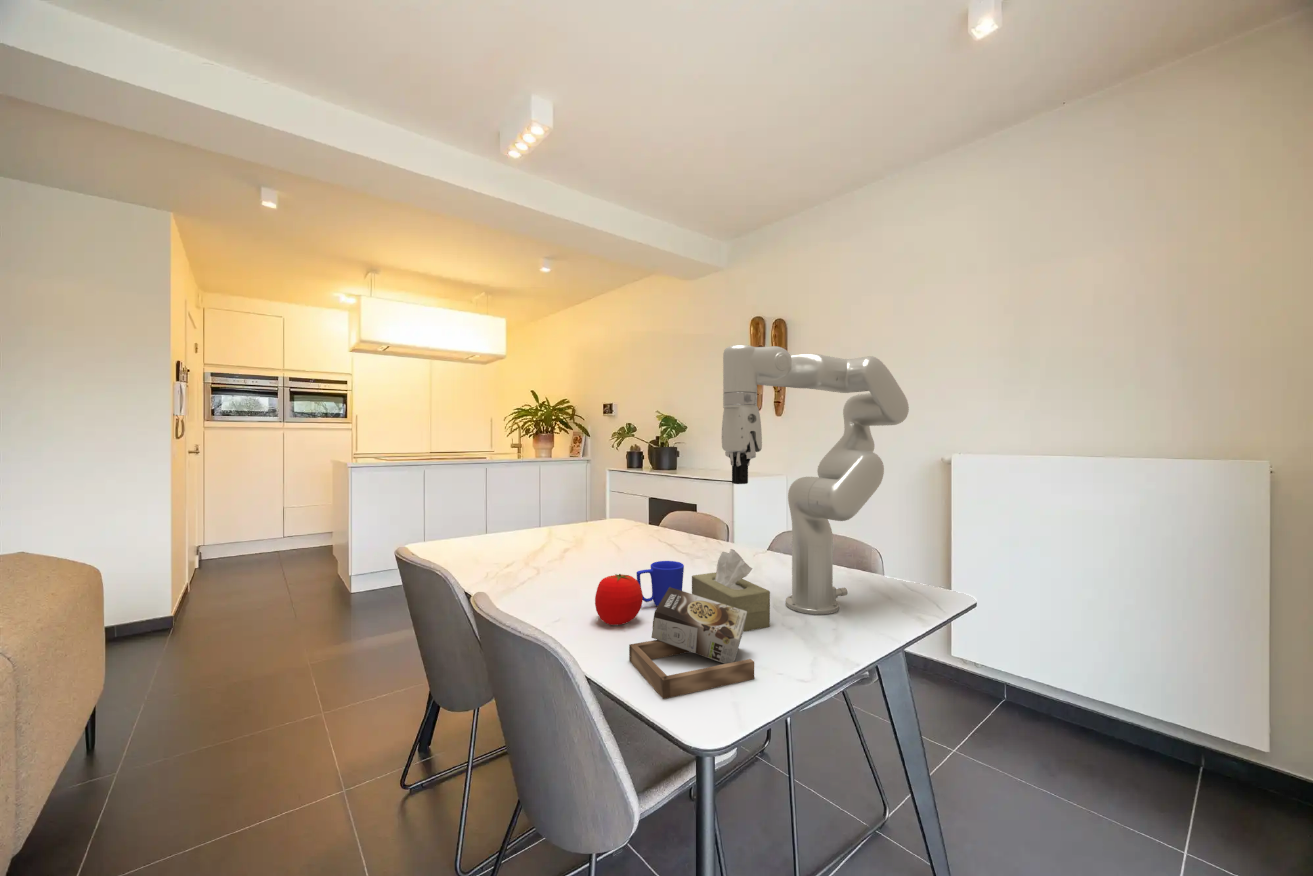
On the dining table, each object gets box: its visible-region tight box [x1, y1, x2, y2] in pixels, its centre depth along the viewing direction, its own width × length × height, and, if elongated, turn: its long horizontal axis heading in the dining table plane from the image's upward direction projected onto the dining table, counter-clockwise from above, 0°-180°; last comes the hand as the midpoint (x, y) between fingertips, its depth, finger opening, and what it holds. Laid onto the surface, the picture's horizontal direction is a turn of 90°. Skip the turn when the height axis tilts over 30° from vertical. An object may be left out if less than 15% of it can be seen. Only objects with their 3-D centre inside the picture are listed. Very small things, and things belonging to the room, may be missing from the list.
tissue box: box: [691, 548, 771, 633], centre depth 121 cm, size 19×10×16 cm, turn 25°
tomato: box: [594, 573, 644, 626], centre depth 117 cm, size 10×11×11 cm
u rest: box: [628, 639, 755, 700], centre depth 94 cm, size 17×15×3 cm
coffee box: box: [650, 587, 747, 664], centre depth 100 cm, size 9×6×16 cm
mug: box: [636, 560, 685, 607], centre depth 128 cm, size 8×12×10 cm
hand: (739, 483), depth 117 cm, fingers closed
